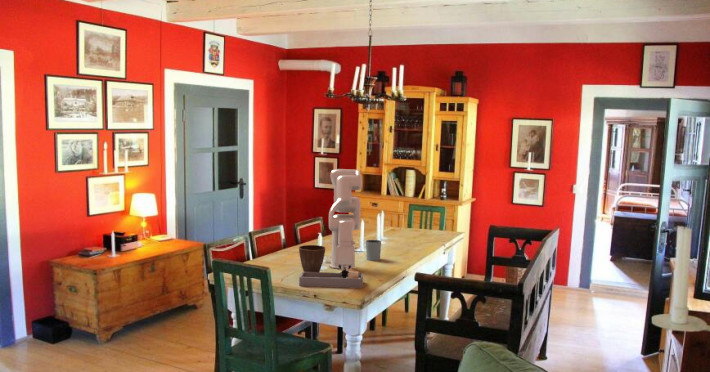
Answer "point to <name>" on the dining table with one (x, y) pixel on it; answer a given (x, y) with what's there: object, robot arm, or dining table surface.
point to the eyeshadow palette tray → (329, 280)
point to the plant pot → (311, 257)
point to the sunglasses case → (352, 270)
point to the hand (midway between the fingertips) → (344, 277)
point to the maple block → (353, 275)
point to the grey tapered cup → (373, 250)
